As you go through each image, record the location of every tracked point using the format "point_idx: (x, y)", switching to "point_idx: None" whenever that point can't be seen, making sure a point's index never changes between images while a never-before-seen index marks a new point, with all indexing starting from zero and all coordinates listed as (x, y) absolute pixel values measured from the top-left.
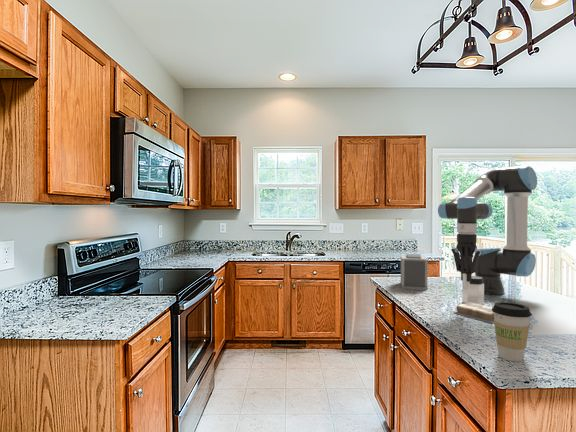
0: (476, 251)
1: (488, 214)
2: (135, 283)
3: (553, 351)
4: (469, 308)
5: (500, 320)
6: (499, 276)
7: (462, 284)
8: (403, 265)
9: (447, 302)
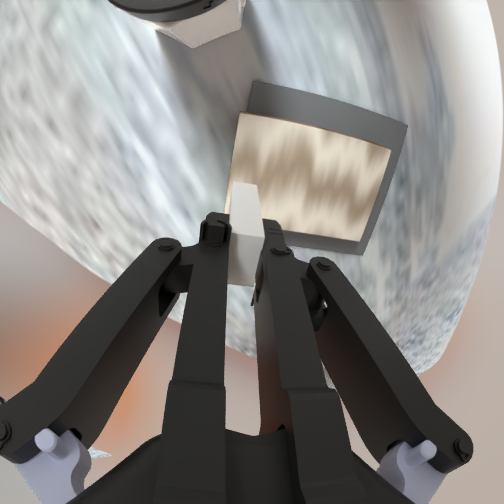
0: (404, 485)
1: None
2: None
3: (447, 316)
4: (282, 229)
5: None
6: None
7: (122, 10)
8: None
9: (117, 96)
